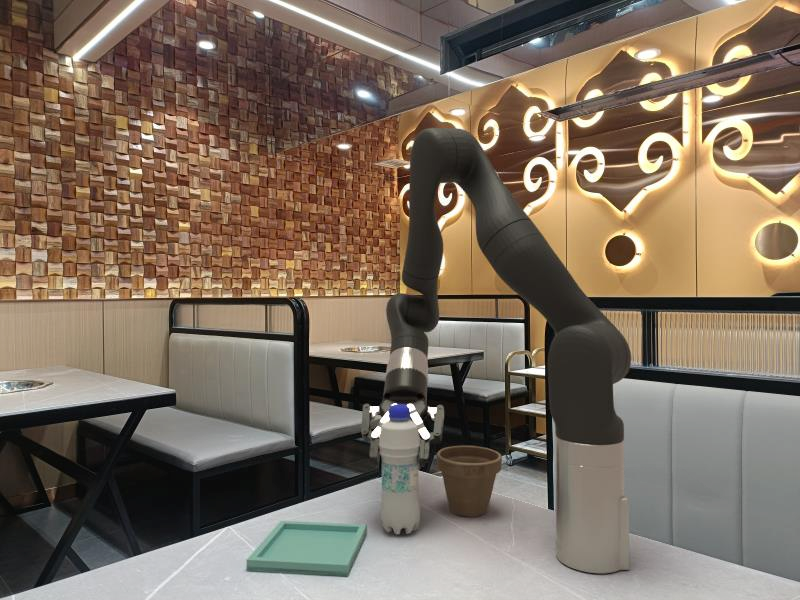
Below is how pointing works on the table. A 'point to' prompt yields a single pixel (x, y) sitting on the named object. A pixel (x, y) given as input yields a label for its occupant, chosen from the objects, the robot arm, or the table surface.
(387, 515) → the bottle
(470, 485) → the flower pot
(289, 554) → the tray
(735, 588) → the table surface
